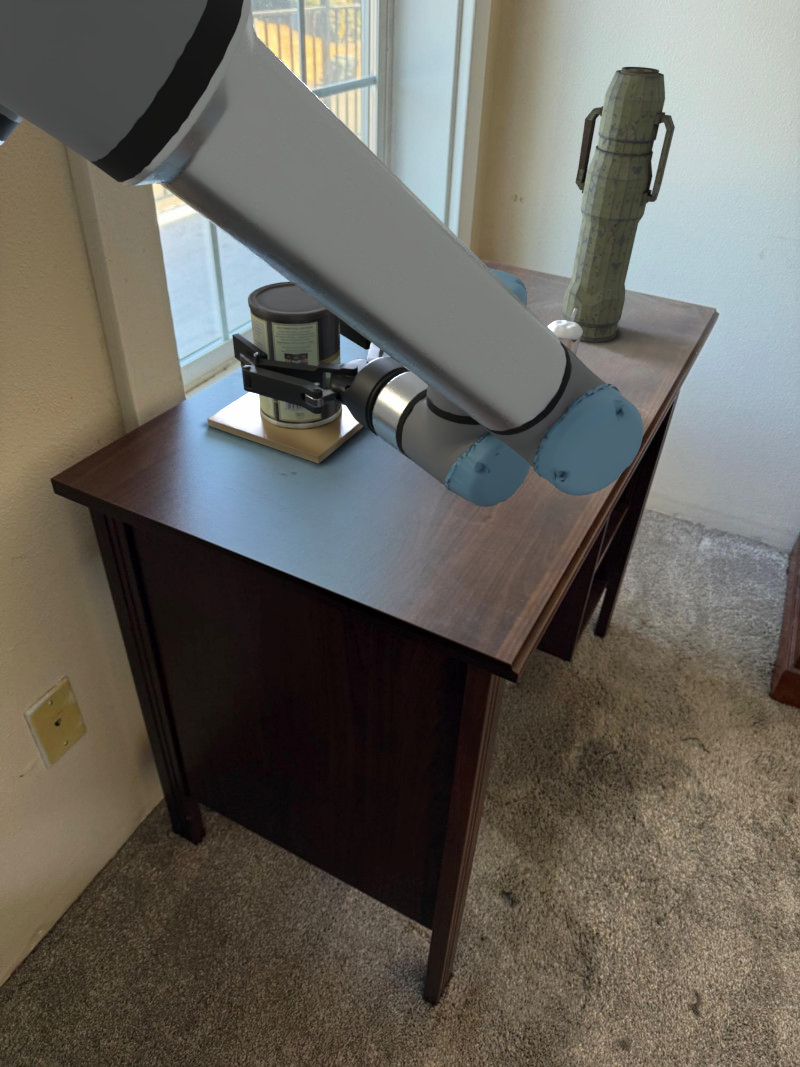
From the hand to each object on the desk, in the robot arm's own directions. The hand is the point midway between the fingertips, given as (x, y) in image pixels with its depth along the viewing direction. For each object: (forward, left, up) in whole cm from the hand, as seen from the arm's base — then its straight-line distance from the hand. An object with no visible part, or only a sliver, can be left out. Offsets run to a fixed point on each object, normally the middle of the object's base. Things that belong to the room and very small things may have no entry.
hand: (288, 331), depth 87 cm
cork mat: (+1, -1, -11) cm, 11 cm away
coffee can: (+1, -1, -10) cm, 10 cm away
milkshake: (+36, +2, -11) cm, 37 cm away
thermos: (+48, +19, -11) cm, 52 cm away
